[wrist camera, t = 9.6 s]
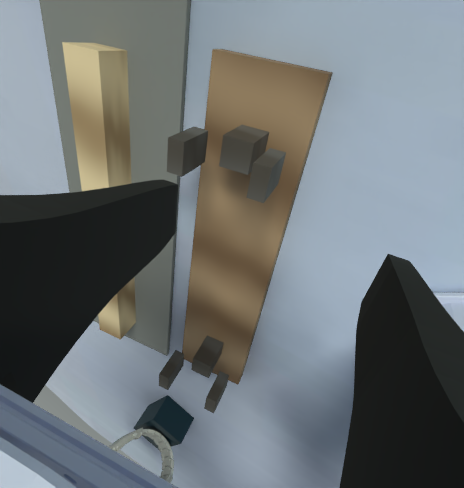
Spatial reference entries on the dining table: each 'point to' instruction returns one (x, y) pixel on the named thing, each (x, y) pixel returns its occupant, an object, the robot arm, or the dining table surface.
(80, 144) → the rail
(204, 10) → the dining table surface
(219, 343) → the rack
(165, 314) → the mat
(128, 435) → the watch
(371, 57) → the dining table surface
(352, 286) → the dining table surface
